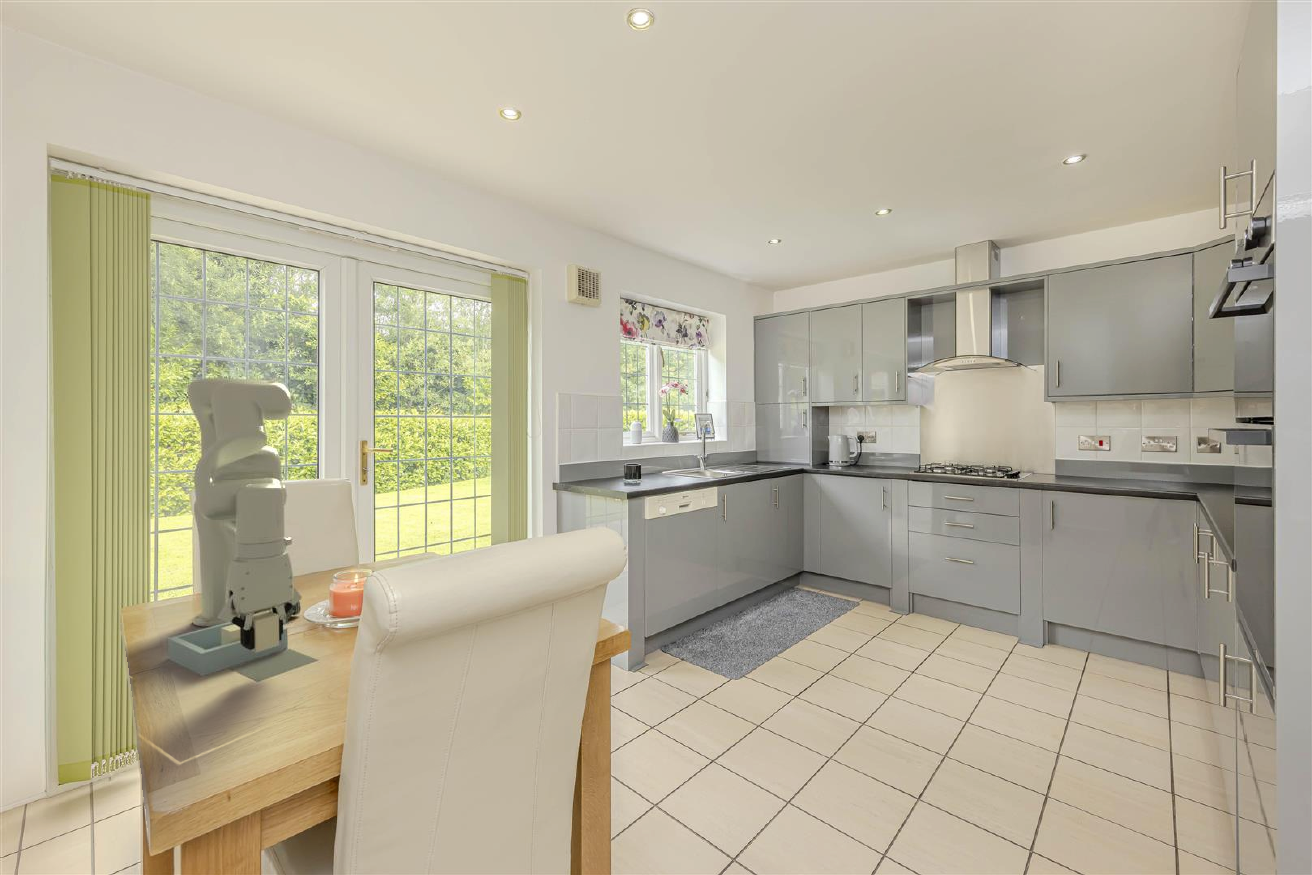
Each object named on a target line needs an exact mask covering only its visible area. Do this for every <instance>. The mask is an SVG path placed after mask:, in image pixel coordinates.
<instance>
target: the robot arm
mask: <svg viewBox="0 0 1312 875" xmlns="http://www.w3.org/2000/svg"><path fill="white" fill-rule="evenodd" d="M187 398H188V402H189V406H190V408H191V411H192V413H193V415H194V417H195V419H196V420H197V423H198V425H199V428H200V438H201V439H200V446H201V448H200V450H201V451H200V452H201V456H200V458H199V459H198V461H197V463H196V465H195V468H194V475H193V476H194V477H193V482H194V493H195V500H194V503H193V504H194V505H193V513H194V514H193V515H194V520H195V524H196V528H197V533H198V542H199V543H198V545H199V561H200V562H199V565H200V566H199V568H200V570H199V572H200V573H199V574H200V575H199V576H200V606H201V608H200V609H201V613H199V614H197V615H196V616H194V617H193V619H192V623H193V625H194V626H196V627H197V626H199V627H212V626H216V625H220V624H223V623H227V622H230V623H233V624H235V625H236V626H238V627H240V642H241V645H242V646H243V647H245V648H247V649H249V650H252V649H254V648H255V643H254V629H253V628H252V620H253V615H254V612H256V611H260V610H264V609H267V608H271V612H273V613H276V614H278V615H279V641H281V639H282V635H281V634H283V627H284V624H283V620H284V619H285V618H286V614H287V613H288V612H289V611H290V609H291V608H292V606H293V605H295V604H296V603H297V602H298V601H299V602H300V601H301V599H302V598H303V597H302V595H301V594H300V593H299V591H297V589H296V588H295V584H294V583H295V582H294V572H293V569H292V564H291V563H292V562H291V558H290V555H289V552H287V551H286V550H287V547H288V546H289V545H292V543H293V541H292V538H291V537H288V538H286V536H285V534H286V533H285V505H286V503H287V498H288V496H287V495H288V494H287V489H286V486H285V485H284V484H283V482H282V472H283V471H282V460H281V457H280V454H279V451H278V450H277V449H276V448H274V447H272V446H268V445H266V444H267V441H268V435H267V432H266V428H265V422H264V421H282V420H286V419H287V418H289V416H290V415H291V412H292V407H293V401H292V397H291V394H290V391H289V390H288V388H287V387H286V386H285V384H283V383H281V382H277V381H275V380H268V379H265V380H264V379H244V378H243V379H242V378H229V377H228V378H226V377H225V378H224V377H207V378H205V377H204V378H199V379H196V380H193V381H191V382H190V383H189V384H188V387H187Z"/></svg>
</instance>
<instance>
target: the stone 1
mask: <svg viewBox="0 0 1312 875" xmlns="http://www.w3.org/2000/svg"><path fill="white" fill-rule="evenodd" d="M239 640H240V627H238V626H236V625H235V624H234V625H230V626H227V627H223V628H221V642H222V645H226V644H229V643H233V642H236V641H239Z"/></svg>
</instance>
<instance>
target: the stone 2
mask: <svg viewBox="0 0 1312 875" xmlns="http://www.w3.org/2000/svg"><path fill="white" fill-rule="evenodd" d="M252 628H253V629H254V643H255V648H254V649H252V650H251V651H253V652H255V653H257V652H260V651H263V650H266V649H269V648H272V647H275V646H278V645H279V615H278V614H276V613H273V612H271V611H264V612H260V613H257V614H254V615H253V620H252Z"/></svg>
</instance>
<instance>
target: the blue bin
mask: <svg viewBox="0 0 1312 875" xmlns="http://www.w3.org/2000/svg"><path fill="white" fill-rule="evenodd" d="M230 625H234V624H233V623H230V622H227V623H223V624H220V625H216V626H207V627H206V628H205V627H204V628H201V629H197V630H195V631H189V632H185V633H183V634H179V635H174V636H172V637H171V636H170V637H167V647H168V648H167V651H168V655H167V657H168V658H167V659H168V660H170V661H172V662H174V663H175V664H177V665H180V666H182V667H184V668H186V669H188V670H190V671H192V672H194V673H195V674H198V675H200V676H202V677H203V676H205V675H209V674H212V673H215V672H218V671H222V670H224V669H228V668H232V667H235V666H238V665H241V664H244V663H247V662H250V661H253V660H257V659H260V658H263V657H266V656H269V655H272V654H275V653H278V652H281V651H284V650H287V649H289V648H288V646H289V643H288V640H289V639H288V627H285V626H283V634H281V635H282V639H281V641H279V645H278V646H275V647H272V648H269V649H266V650H263V651H260V652H257V653H255V652H253V651H251V650H249V649H247V648H245V647H243V646H242V645H241V642H240V640H239V641H236V642H233V643H229V644H226V645H222V642H221V628H223V627H227V626H230Z"/></svg>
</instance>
